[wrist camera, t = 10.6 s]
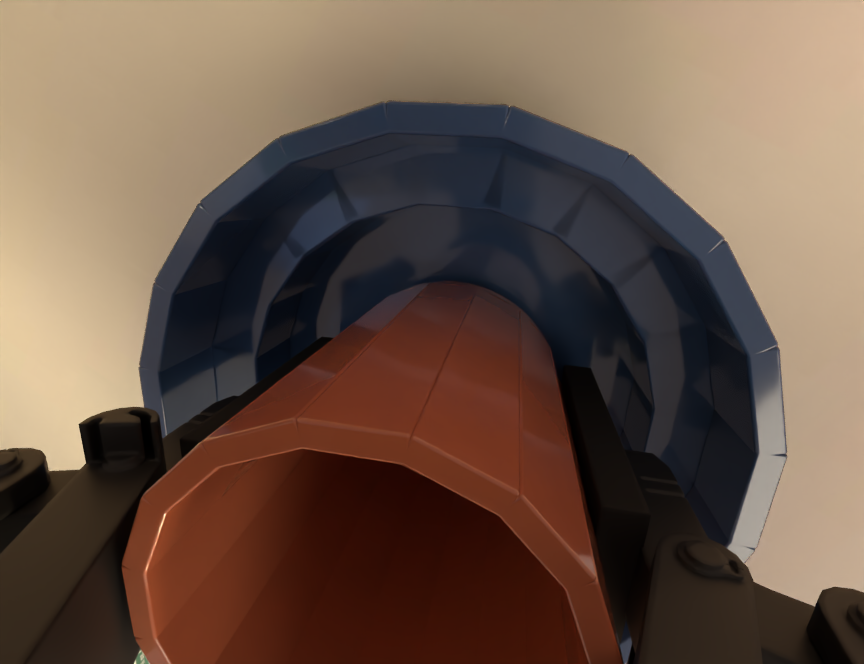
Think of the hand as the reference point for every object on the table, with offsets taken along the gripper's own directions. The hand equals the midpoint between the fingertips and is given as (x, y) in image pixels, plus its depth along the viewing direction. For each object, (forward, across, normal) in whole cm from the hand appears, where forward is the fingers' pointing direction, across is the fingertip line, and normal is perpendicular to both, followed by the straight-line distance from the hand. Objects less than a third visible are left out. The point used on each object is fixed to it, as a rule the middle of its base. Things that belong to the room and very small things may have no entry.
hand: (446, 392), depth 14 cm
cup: (0, 0, 0) cm, 0 cm away
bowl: (+1, 0, 0) cm, 1 cm away
